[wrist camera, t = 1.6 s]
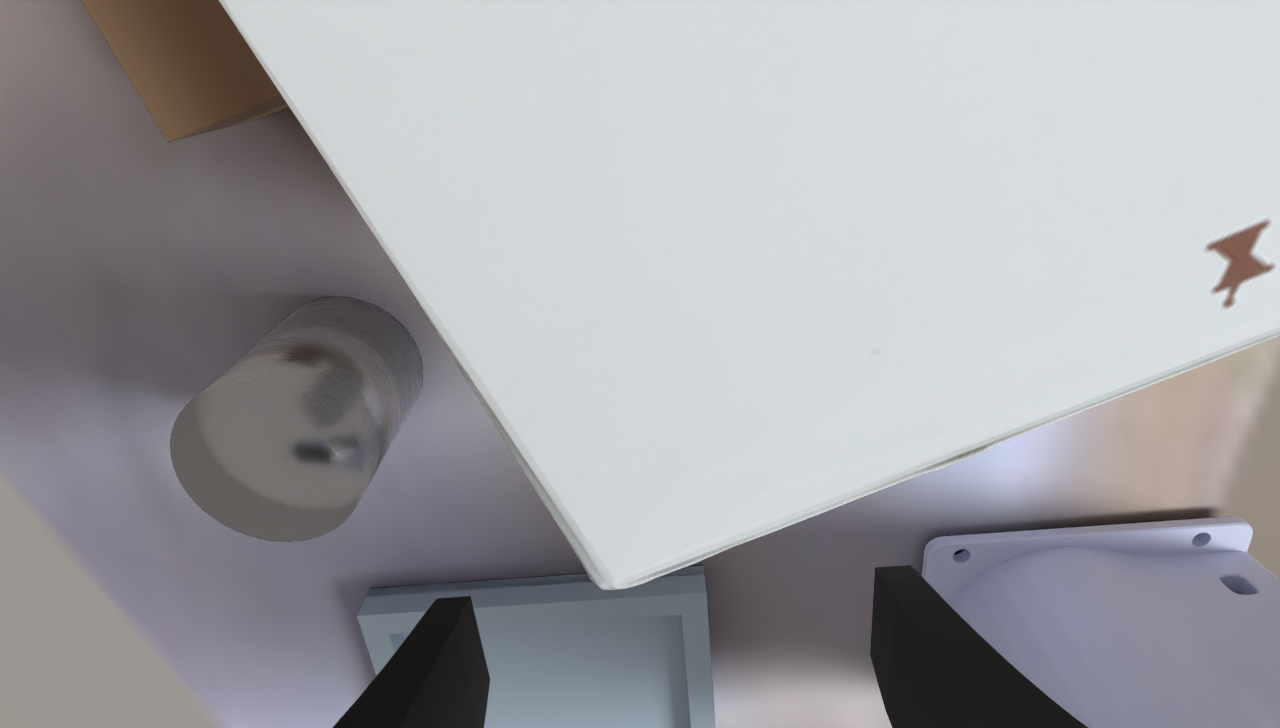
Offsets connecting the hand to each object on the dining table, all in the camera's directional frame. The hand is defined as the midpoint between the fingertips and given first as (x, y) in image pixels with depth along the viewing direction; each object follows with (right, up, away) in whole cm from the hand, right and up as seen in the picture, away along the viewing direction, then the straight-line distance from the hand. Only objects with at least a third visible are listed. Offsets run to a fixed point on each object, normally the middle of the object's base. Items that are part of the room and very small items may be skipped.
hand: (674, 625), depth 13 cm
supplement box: (+1, +12, +4) cm, 12 cm away
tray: (-3, -7, +12) cm, 15 cm away
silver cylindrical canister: (-9, +5, +7) cm, 12 cm away
